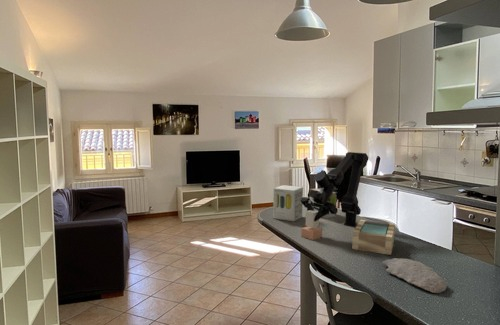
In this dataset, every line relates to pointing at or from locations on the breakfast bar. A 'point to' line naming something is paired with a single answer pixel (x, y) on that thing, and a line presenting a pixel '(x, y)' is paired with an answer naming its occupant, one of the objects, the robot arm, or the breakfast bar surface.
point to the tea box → (333, 200)
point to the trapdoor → (375, 227)
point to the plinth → (311, 232)
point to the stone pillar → (311, 218)
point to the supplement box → (287, 202)
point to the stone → (416, 274)
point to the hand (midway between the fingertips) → (310, 219)
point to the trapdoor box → (373, 240)
